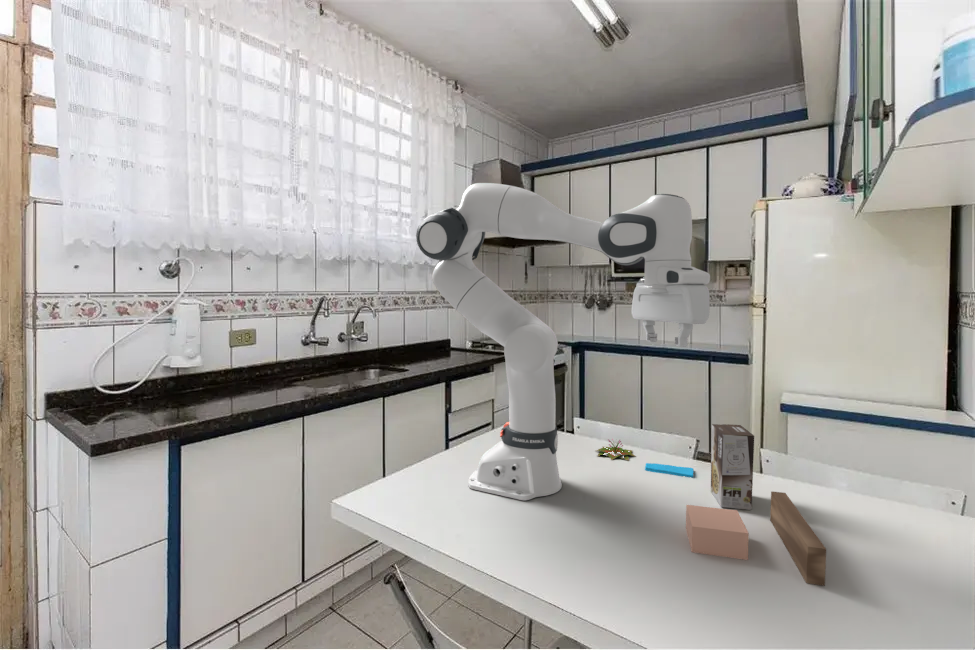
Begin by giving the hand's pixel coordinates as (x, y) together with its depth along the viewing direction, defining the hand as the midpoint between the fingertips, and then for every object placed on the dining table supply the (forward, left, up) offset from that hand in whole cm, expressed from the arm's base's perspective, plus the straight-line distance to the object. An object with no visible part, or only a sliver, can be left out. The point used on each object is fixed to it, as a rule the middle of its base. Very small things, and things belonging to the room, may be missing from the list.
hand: (665, 344), depth 97 cm
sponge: (+3, +26, -36) cm, 45 cm away
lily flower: (-11, +36, -36) cm, 52 cm away
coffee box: (+15, +12, -36) cm, 41 cm away
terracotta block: (+9, -9, -36) cm, 38 cm away
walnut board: (+22, -7, -36) cm, 43 cm away
